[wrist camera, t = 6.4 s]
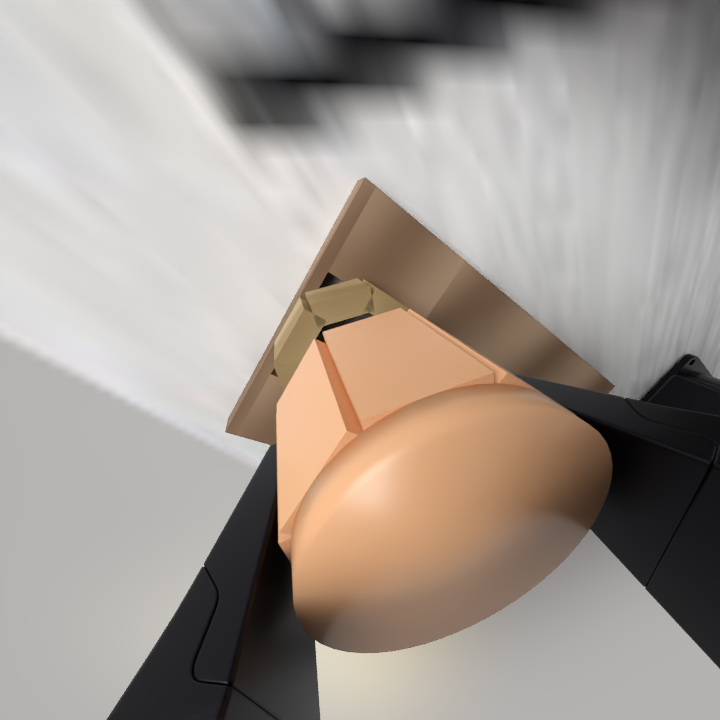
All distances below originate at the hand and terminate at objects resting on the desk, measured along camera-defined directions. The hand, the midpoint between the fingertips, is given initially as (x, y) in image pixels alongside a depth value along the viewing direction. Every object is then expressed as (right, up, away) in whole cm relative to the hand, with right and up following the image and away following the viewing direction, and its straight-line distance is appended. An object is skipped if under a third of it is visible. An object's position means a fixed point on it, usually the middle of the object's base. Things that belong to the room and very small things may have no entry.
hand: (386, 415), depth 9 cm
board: (+4, 0, +8) cm, 10 cm away
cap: (0, 0, 0) cm, 0 cm away
